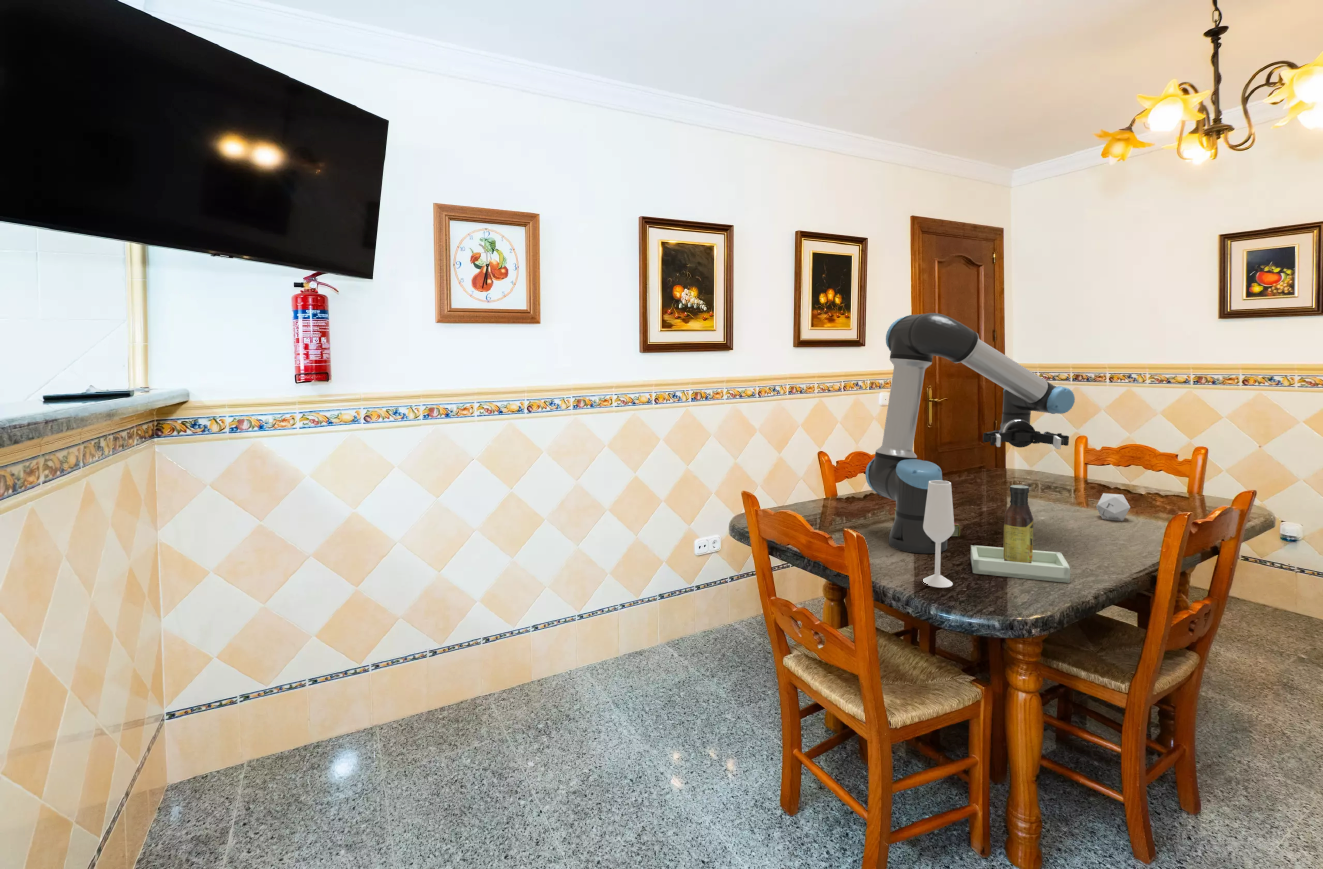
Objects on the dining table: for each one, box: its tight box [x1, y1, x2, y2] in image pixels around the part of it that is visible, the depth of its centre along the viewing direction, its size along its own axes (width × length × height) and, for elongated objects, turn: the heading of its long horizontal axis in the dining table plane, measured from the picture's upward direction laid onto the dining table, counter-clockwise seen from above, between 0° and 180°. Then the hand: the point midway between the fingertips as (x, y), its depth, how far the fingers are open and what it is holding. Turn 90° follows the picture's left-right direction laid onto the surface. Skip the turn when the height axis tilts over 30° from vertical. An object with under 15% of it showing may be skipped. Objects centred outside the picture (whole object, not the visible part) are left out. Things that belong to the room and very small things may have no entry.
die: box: [1095, 492, 1131, 522], centre depth 193 cm, size 8×9×10 cm
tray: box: [970, 544, 1071, 584], centre depth 153 cm, size 20×12×4 cm, turn 66°
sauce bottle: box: [1003, 484, 1034, 563], centre depth 152 cm, size 6×6×20 cm
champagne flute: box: [922, 480, 955, 588], centre depth 145 cm, size 7×7×24 cm
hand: (1028, 442), depth 162 cm, fingers open, 13 cm apart
